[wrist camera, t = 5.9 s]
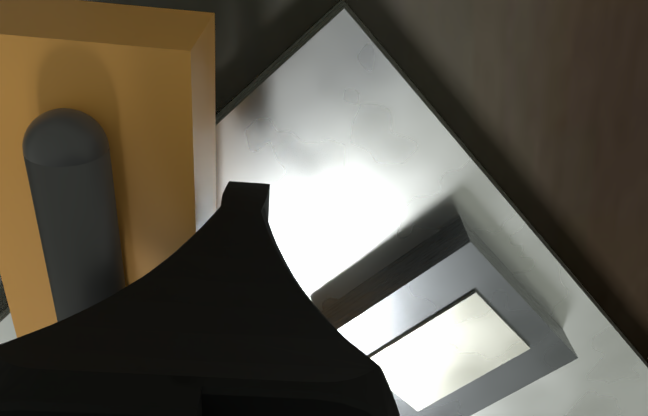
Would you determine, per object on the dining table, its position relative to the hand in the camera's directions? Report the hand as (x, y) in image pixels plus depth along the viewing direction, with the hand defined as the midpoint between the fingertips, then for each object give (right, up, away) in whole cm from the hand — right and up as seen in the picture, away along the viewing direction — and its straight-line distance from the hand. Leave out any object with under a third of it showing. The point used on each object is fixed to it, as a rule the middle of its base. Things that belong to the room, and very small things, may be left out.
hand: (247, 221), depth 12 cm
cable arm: (-3, -4, +3) cm, 6 cm away
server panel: (+1, -6, +8) cm, 10 cm away
